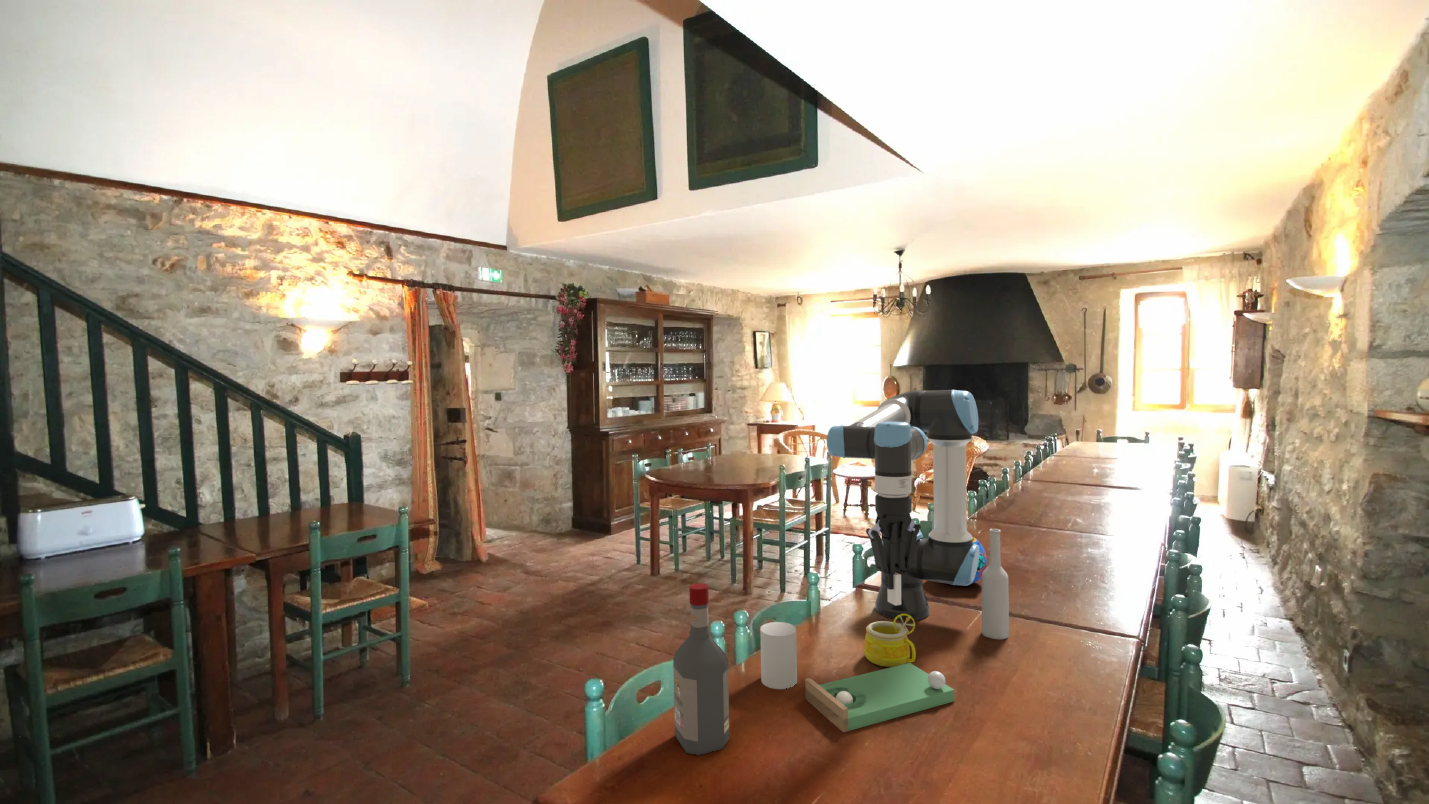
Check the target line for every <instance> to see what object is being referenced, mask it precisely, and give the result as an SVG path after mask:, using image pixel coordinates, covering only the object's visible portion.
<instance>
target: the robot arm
mask: <svg viewBox="0 0 1429 804" xmlns="http://www.w3.org/2000/svg"><path fill="white" fill-rule="evenodd" d="M978 430H979V411H978V407H977V404H976V399H975V398H974V395H973V394H972V393H971V392H970V391H967V390H959V389H958V390H956V389H946V390H945V389H942V390H935V389H934V390H911V391H907V392H903V393H899V394H897V395H894V396H892V397H890V398H888V399H886V400H884V401H882V403H880V405H878V407H877V409H876V410H874V411H873V412H871V413H869V414H867V415H866V416H864V417H863V418H860V419H858V421H855V422H854V423H852V424H850V425H843V424H841V425H834V426H833V425H832V426H831V427H830V428H829V430H828V432H827V435H826V448H827V451H828V453H829V455H831V456H832V457H835V458H843V459H846V458H847V459H867V460H874V492H875V493H876V495H875V496H874V505H875V506H874V509H875V512H876V518H875V521H874V522H875V524H874V526H872V527H871V528H869V527H868V528H866V530H865V533H866V535H867V537H868V538H869V540H870V546H871V550H872V554H873V558H874V563H875V567H876V570H877V571H878V572H880V576H881V577H880V580H881V581H880V587H879V589H878V594H877V597H876V599H875V603H874V604H875V608H874V609H875V611H876V612H877V613H878V614H879V615H880V616H883V617H886V618H889V619H893V620H894V619H895V618H896V617H897V616H898V615H900V614H908V615H910V616H911V617H912V618H913V619H914V621H917V620H923V619H925V618H927V617H928V616H929V615H930V604H929V602H928V598H927V595H926V592H925V589H924V586H923V580H924V581H930V582H936V583H943V584H949V585H952V586H963V587H964V586H965V587H967V586H970V585H971V583H972V582H973V580H974V578H975V575H976V571H977V567H978V561H979V546H978V545H976V544H973V537H974V536H973V535H972V534H971V533H970V532H969V531H968V530H967V527H968V525H967V524H968V523H967V521H968V520H967V444H969V442H971V441H972V439H973V435H974V434H976V433H978ZM925 432H926V434H925ZM928 441H929V442H930V443H931V444H932V453H933V454H932V460H933V462H932V463H933V464H932V465H933V467H932V468H933V470H932V471H933V473H932V474H933V477H932V478H933V529H932V530H931V531H930V532H929V533H928V538H924V534H923V533H922V532H921V531H920V530H921V528H922V527H921V524H918V523H915V522H914V521H912V516H911V513H912V510H913V504H912V503H913V502H912V501H913V500H912V499H913V498H912V496H911V493H912V461H914V460H917V459H919V458H920V457H921V456H923V454H924V453H926V451H927V449H928V444H929V442H928ZM972 584H973V583H972ZM901 617H902V620H903V621H906V618H907V617H908V616H906V615H903V616H901ZM897 620H899V621H902V620H901V619H900V617H898V618H897V619H896V621H897ZM909 621H913V620H912V619H911V618H910V619H909Z"/></svg>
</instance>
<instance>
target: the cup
mask: <svg viewBox="0 0 1429 804" xmlns="http://www.w3.org/2000/svg"><path fill="white" fill-rule="evenodd" d="M759 631H760V675H761V676H760V679H761V683H762V684H763V686H764V687H767V688H769V689H772V690H773V689H774V690H786V688H787V689H791V688H793V687H795V686H796V685H797V683H798V668H797V666H798V665H797V663H798V662H797V661H798V660H797V655H798V654H797V652H798V651H797V627H796V626H795V625H793V624H791V623H788V622H783V621H771V622H767V623H764V624H763V625H761V626H760V629H759ZM795 684H796V685H795ZM794 685H795V686H794ZM790 687H791V688H790Z"/></svg>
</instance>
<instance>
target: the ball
mask: <svg viewBox="0 0 1429 804" xmlns="http://www.w3.org/2000/svg"><path fill="white" fill-rule="evenodd" d="M836 699H837V700H838V701H840V702H841V703H842V704H851V703H853V698H852V696H851V694H850V693H848V692H846V691H841V692H839V693H838V694H837V696H836Z"/></svg>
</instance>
